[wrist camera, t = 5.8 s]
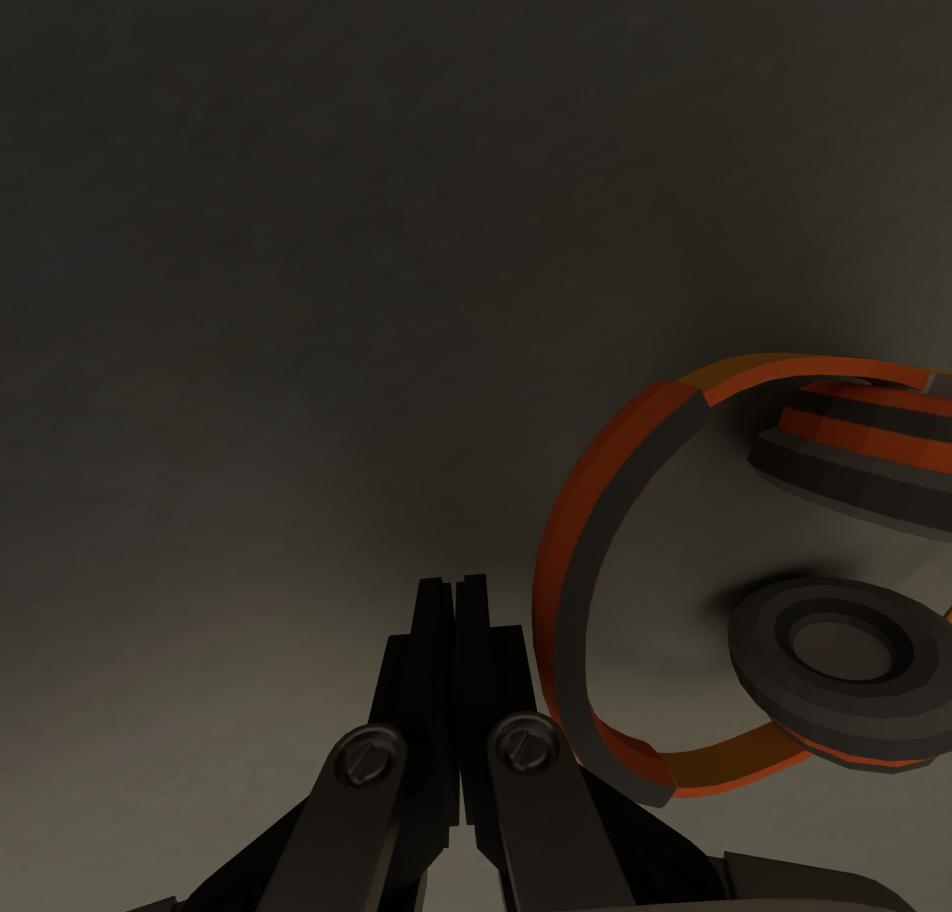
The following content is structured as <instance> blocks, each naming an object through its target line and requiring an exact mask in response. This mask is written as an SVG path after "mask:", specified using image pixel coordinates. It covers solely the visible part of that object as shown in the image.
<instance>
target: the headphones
mask: <svg viewBox="0 0 952 912" xmlns="http://www.w3.org/2000/svg"><path fill="white" fill-rule="evenodd" d="M796 375H842V376H853V377H856V378H859V379H862V380H865V381H868V382H870V383H872V384H871V385H864V384H856V383H849V382H841V381H817V382H814V383H812V384H809V385H807V386H804V387H801V388H799V389H797V390H796V391H795V393H794V394H793V396H792V397H791V398H790V400H789V401H788V403H787V404H786V405H785V407H784V410H783V413H782V416H781V419H780V421H779V424H778V426H776V427H774V428H771V429H768V430H766V431H763V432H760V433H758V434H756V437H755V440H754V443H753V445H752V448H751V451H750V454H749V457H748V461H749V463H750V464H751V466H752V467H753V468H754V469H755V471H756V472H757V473H758V474H759V475H760V477H761V478H763V479H764V480H766V481H767V482H769V483H770V484H772V485H774V486H776V487H778V488H780V489H782V490H784V491H786V492H789V493H791V494H793V495H795V496H798V497H800V498H803V499H805V500H808V501H810V502H813V503H815V504H818V505H821V506H823V507H826V508H828V509H831V510H833V511H836V512H839V513H841V514H845V515H848V516H851V517H855V518H858V519H861V520H864V521H868V522H871V523H874V524H877V525H881V526H884V527H887V528H891V529H894V530H897V531H901V532H905V533H909V534H913V535H917V536H921V537H926V538H930V539H934V540H939V541H944V542H948V543H952V372H948V371H941V370H935V369H928V368H920V367H912V366H904V365H899V364H894V363H889V362H884V361H879V360H871V359H860V358H850V357H839V356H828V355H814V354H800V353H786V352H784V353H755V354H749V355H743V356H736V357H730V358H727V359H724V360H721V361H719V362H716V363H713V364H711V365H708V366H705V367H702V368H700V369H698V370H696V371H694V372H692V373H690V374H689V375H687V376H685V377H683V378H681V379H679V380H677V381H676V382H673V381H666V380H665V381H660V382H655V383H653V384H651V385H649V386H647V387H645V388H644V389H643V390H642V391H641V392H640V393H638V394H637V395H636V396H635V397H634V398H633V399H631V400H630V401H629V402H628V403H627V404H626V405H624V406H623V407H622V409H621V410H620V411H619V412H618V413H617V414H616V415H615V416H614V417H613V418H612V419H611V420H610V421H609V422H608V423H607V425H606V426H605V427H604V428H603V429H602V430H601V431H600V432H599V433H598V434H597V435H596V437H595V438H594V439H593V441H592V442H591V444H590V445H589V446H588V448H587V449H586V450H585V452H584V453H583V455H582V456H581V457H580V459H579V460H578V461H577V463H576V464H575V466H574V467H573V469H572V471H571V473H570V474H569V476H568V478H567V480H566V482H565V483H564V485H563V487H562V489H561V491H560V493H559V495H558V497H557V499H556V502H555V504H554V506H553V508H552V511H551V513H550V515H549V518H548V521H547V524H546V528H545V531H544V534H543V538H542V541H541V544H540V547H539V551H538V555H537V561H536V567H535V574H534V580H533V586H532V630H533V646H534V651H535V656H536V662H537V667H538V672H539V677H540V682H541V687H542V692H543V696H544V699H545V701H546V704H547V707H548V709H549V712H550V715H551V718H552V719H553V720H554V721H555V722H556V723H557V724H558V725H560V727H561V729H562V730H563V732H564V733H565V735H566V737H567V740H568V742H569V744H570V747H571V749H572V751H573V753H574V754H575V755H576V757H577V758H578V759H579V761H580V762H581V763H582V765H583V766H584V767H585V768H586V769H587V770H588V771H590V772H591V773H593V774H594V775H596V776H597V777H599V778H600V779H601V780H603V781H604V782H606V783H607V784H609V785H610V786H612V787H613V788H614V789H616V790H617V791H619V792H620V793H622V794H623V795H625V796H626V797H627V798H629V799H630V800H632V801H634V802H637V803H639V804H642V805H647V806H651V807H655V808H661V807H664V806H665V805H666V804H667V802H668V801H669V800H670V798H693V797H702V796H709V795H714V794H718V793H723V792H726V791H729V790H732V789H735V788H738V787H741V786H744V785H747V784H750V783H753V782H755V781H757V780H760V779H762V778H764V777H766V776H769V775H771V774H773V773H775V772H778V771H780V770H782V769H785V768H787V767H789V766H791V765H794V764H796V763H798V762H800V761H803V760H805V759H806V758H808V757H810V756H812V755H817V756H819V757H821V758H824V759H826V760H829V761H831V762H834V763H836V764H838V765H841V766H843V767H846V768H848V769H852V770H861V771H869V772H878V773H886V774H896V773H900V772H904V771H908V770H912V769H916V768H920V767H924V766H928V765H930V764H931V762H932V761H933V760H934V759H935V758H936V757H937V756H938V755H941V754H944V753H947V752H950V751H952V606H951V607H950V609H949V610H948V611H947V612H946V614H945V615H944V616H943V617H942V616H940V615H939V614H937V613H936V612H934V611H933V610H931V609H929V608H928V607H926V606H925V605H923V604H922V603H920V602H917V601H915V600H913V599H911V598H908V597H906V596H904V595H901V594H899V593H897V592H895V591H892V590H889V589H886V588H882V587H879V586H875V585H871V584H868V583H864V582H860V581H853V580H846V579H840V578H833V577H804V578H797V579H790V580H784V581H779V582H776V583H774V584H771V585H768V586H765V587H762V588H760V589H758V590H757V591H755V592H753V593H752V594H750V595H749V596H747V597H746V598H744V599H743V600H742V602H741V603H740V604H739V605H738V606H737V608H736V609H735V610H734V611H733V613H732V616H731V619H730V622H729V625H728V642H729V650H730V656H731V661H732V665H733V667H734V670H735V672H736V674H737V677H738V679H739V681H740V684H741V685H742V686H743V688H744V689H745V690H746V691H747V693H748V694H749V695H750V697H751V698H752V699H753V700H754V702H755V703H756V704H757V705H758V706H759V707H760V708H761V709H763V710H764V711H765V712H766V713H767V714H768V716H769V717H770V718H771V720H772V721H771V722H769V723H767V724H765V725H763V726H761V727H758V728H756V729H753V730H751V731H749V732H746V733H744V734H741V735H739V736H737V737H734V738H732V739H729V740H726V741H724V742H721V743H718V744H715V745H712V746H709V747H705V748H701V749H697V750H693V751H688V752H677V753H657V752H656V751H655V750H654V749H653V748H652V747H651V746H650V745H649V744H648V743H646V742H645V741H642V740H638V739H635V738H632V737H629V736H626V735H624V734H622V733H620V732H618V731H616V730H614V729H612V728H610V727H609V726H608V725H606V724H605V723H604V722H603V721H601V720H600V719H599V718H598V717H597V715H596V714H595V712H594V710H593V708H592V706H591V704H590V701H589V698H588V694H587V684H586V672H585V653H586V631H587V623H588V616H589V609H590V603H591V600H592V596H593V592H594V589H595V585H596V581H597V577H598V574H599V571H600V568H601V566H602V563H603V561H604V558H605V556H606V554H607V551H608V549H609V546H610V544H611V541H612V539H613V537H614V535H615V533H616V532H617V530H618V528H619V526H620V525H621V523H622V521H623V519H624V518H625V516H626V514H627V512H628V511H629V509H630V507H631V505H632V504H633V503H634V501H635V500H636V499H637V497H638V496H639V495H640V493H641V492H642V491H643V489H644V488H645V487H646V485H647V484H648V483H649V481H650V480H651V479H652V477H653V476H654V475H655V474H656V473H657V471H658V470H659V469H660V468H661V467H662V466H663V465H664V464H665V463H666V462H667V461H668V460H669V459H670V458H671V457H672V456H673V455H674V454H675V453H676V452H677V451H678V449H679V448H680V447H681V446H682V445H684V444H685V443H686V442H687V441H688V440H689V439H691V438H692V437H693V436H694V435H695V434H696V433H698V432H699V431H700V430H701V429H702V428H703V427H705V425H706V424H707V422H708V421H709V419H710V416H711V412H712V410H711V408H710V407H712V406H714V405H715V404H717V403H719V402H721V401H723V400H724V399H726V398H728V397H730V396H732V395H734V394H735V393H737V392H739V391H742V390H744V389H747V388H750V387H752V386H755V385H758V384H760V383H763V382H766V381H768V380H774V379H780V378H785V377H791V376H796Z"/></svg>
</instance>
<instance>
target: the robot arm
mask: <svg viewBox="0 0 952 912" xmlns="http://www.w3.org/2000/svg"><path fill="white" fill-rule="evenodd" d="M460 771H461V779H462V788H463V796H464V805H465V813H466V822H467V825H474V826H475V835H476V844H477V849H478V850H479V851H480V852H481V853H482V854H483V855H484V856H485V857H486V858H487V859H488V860H489V861H490V862H491V863H492V864H493V865H494V866H495V867H496V868H497V869H498V876H499V883H500V888H501V894H502V899H503V904H504V909H505V912H916V911H915V910H914V909H913V908H912V907H911V906H910V905H909V904H908V903H907V902H905V901H904V900H903V899H902V898H901V897H900V896H899V895H898V894H896V893H895V892H893V891H892V890H890V889H888V888H887V887H885V886H884V885H882V884H880V883H879V882H877V881H875V880H872V879H869V878H866V877H863V876H860V875H857V874H853V873H848V872H842V871H836V870H830V869H825V868H819V867H813V866H807V865H801V864H796V863H790V862H784V861H778V860H773V859H767V858H761V857H755V856H750V855H744V854H738V853H732V852H727V851H724V856H723V858H717V857H711V856H706V855H705V854H704V853H703V852H702V851H701V850H700V849H699V848H698V847H696V846H695V845H694V844H693V843H692V842H691V841H690V840H688V839H687V838H685V837H684V836H682V835H681V834H679V833H678V832H677V831H675V830H674V829H672V828H671V827H669V826H668V825H666V824H665V823H664V822H662V821H661V820H659V819H658V818H656V817H655V816H653V815H652V814H651V813H649V812H648V811H646V810H645V809H643V808H642V807H640V806H639V805H638V804H636V803H635V802H633V801H632V800H630V799H629V798H627V797H626V796H625V795H623V794H622V793H620V792H619V791H617V790H616V789H614V788H613V787H612V786H610V785H609V784H607V783H606V782H604V781H603V780H601V779H600V778H599V777H597V776H596V775H594V774H593V773H591V772H590V771H588V770H587V769H586V768H584V767H583V766H581V765H580V764H578V763H577V761H576V759H575V756H574V754H573V752H572V749H571V747H570V744H569V742H568V740H567V737H566V735H565V733H564V732H563V730H562V729H561V727H560V725H558V724H557V723H556V722H555V721H554V720H553V719H552V718H550V717H548V716H546V715H544V714H542V713H539V712H537V707H536V702H535V696H534V691H533V685H532V680H531V674H530V669H529V663H528V658H527V653H526V647H525V642H524V636H523V631H522V626H521V625H513V626H501V627H490V622H489V609H488V597H487V585H486V574H476V575H465V576H464V581H462V582H456V610H455V618H454V608H453V599H452V590H451V583H450V582H449V583H443V580H442V577H439V578H427V579H420V581H419V587H418V593H417V598H416V604H415V610H414V616H413V622H412V627H411V633H410V634H402V635H390V636H389V638H388V641H387V645H386V649H385V653H384V657H383V661H382V666H381V670H380V674H379V678H378V682H377V686H376V691H375V695H374V699H373V703H372V707H371V711H370V716H369V720H368V724H366V725H363V726H360V727H357V728H355V729H353V730H352V731H350V732H348V733H347V734H345V735H344V736H343V737H342V738H341V739H340V740H339V741H338V742H337V743H336V744H335V745H334V747H333V749H332V750H331V752H330V753H329V755H328V757H327V759H326V761H325V763H324V765H323V768H322V770H321V772H320V774H319V776H318V778H317V780H316V782H315V785H314V787H313V789H312V791H311V793H310V795H309V796H308V797H307V798H305V799H304V800H303V801H302V802H300V803H299V804H298V805H297V806H296V807H294V808H293V809H292V810H291V811H289V812H288V813H287V814H286V815H285V816H283V817H282V818H281V819H280V820H278V821H277V822H276V823H275V824H274V825H272V826H271V827H270V828H269V829H267V830H266V831H265V832H264V833H263V834H261V835H260V836H259V837H258V838H256V839H255V840H254V841H253V842H252V843H250V844H249V845H248V846H247V847H246V848H244V849H243V850H242V851H241V852H239V853H238V854H237V855H236V856H235V857H233V858H232V859H231V860H230V861H228V862H227V863H226V864H225V865H224V866H222V867H221V868H220V869H219V870H217V871H216V872H215V873H214V874H213V875H211V876H210V877H209V878H208V879H206V880H205V881H204V882H203V883H202V884H201V885H200V886H199V887H198V888H197V889H196V890H195V891H194V892H193V893H192V894H191V895H190V897H189V898H188V899H187V900H185V901H182V902H179V903H178V902H177V900H176V897H175V896H172V897H169V898H166V899H163V900H160V901H157V902H154V903H151V904H148V905H145V906H142V907H139V908H136V909H133V910H130V911H127V912H422V908H423V903H424V898H425V892H426V887H427V874H428V872H427V868H428V867H429V866H430V865H431V864H432V862H433V861H434V860H435V859H436V858H437V857H438V855H439V854H440V853H441V852H442V851H443V848H449V827H451V826H459V808H460Z"/></svg>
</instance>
